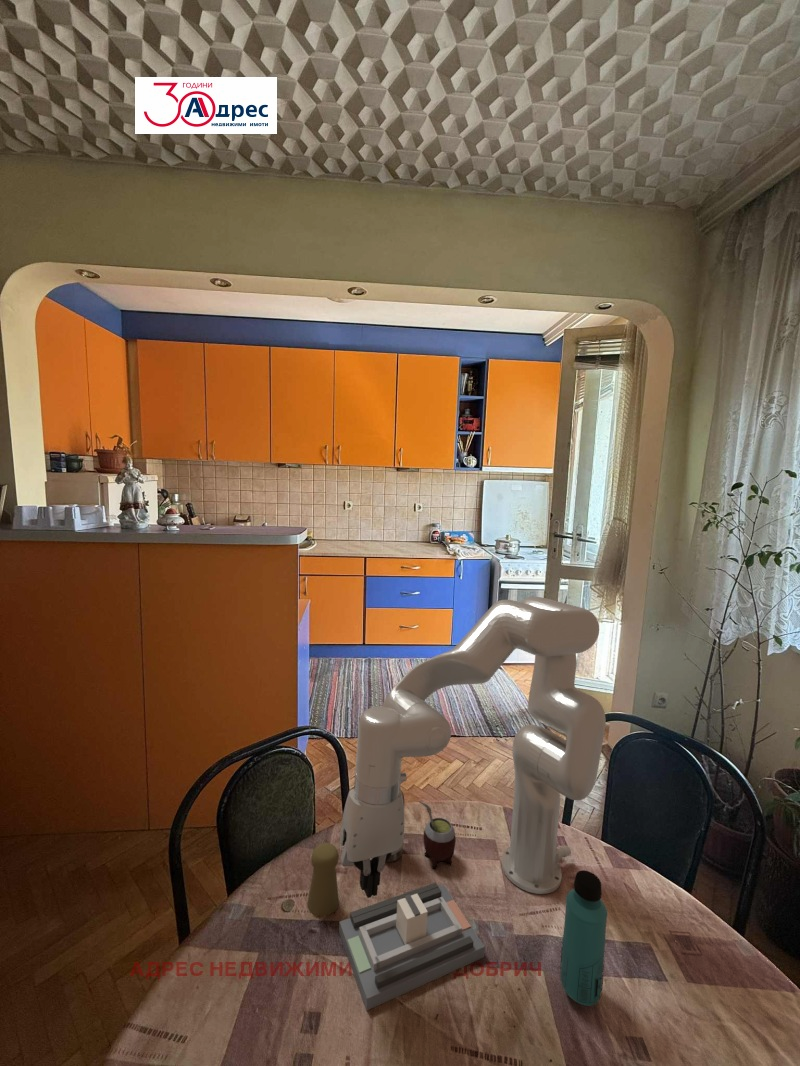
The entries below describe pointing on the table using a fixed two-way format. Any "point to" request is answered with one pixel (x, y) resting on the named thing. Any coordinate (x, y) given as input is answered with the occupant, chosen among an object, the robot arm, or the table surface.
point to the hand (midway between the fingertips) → (369, 890)
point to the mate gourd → (439, 840)
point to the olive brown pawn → (324, 881)
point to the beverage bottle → (584, 940)
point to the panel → (407, 946)
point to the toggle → (411, 918)
